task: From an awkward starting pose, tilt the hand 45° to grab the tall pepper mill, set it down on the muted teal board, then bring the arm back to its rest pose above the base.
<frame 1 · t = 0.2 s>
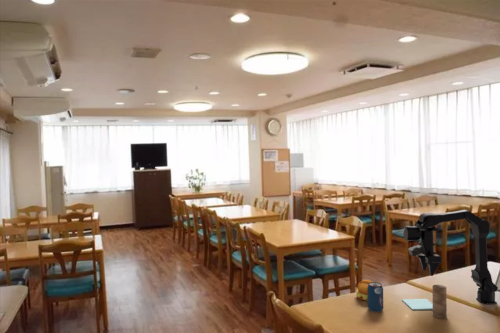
hand: (427, 272, 188), 14 cm above the table, fingers open, 9 cm apart
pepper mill: (439, 316, 173), on the table
board: (419, 304, 186), on the table
cheeseburger: (366, 298, 195), on the table
soda can: (375, 310, 181), on the table
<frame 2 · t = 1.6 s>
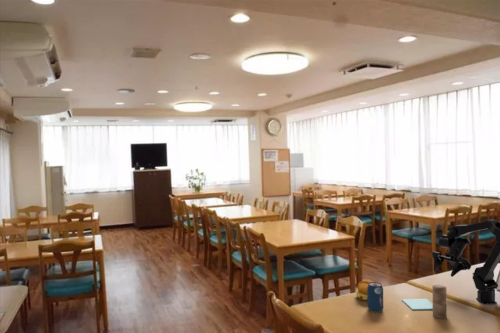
hand: (442, 273, 195), 12 cm above the table, fingers open, 9 cm apart
nothing on the table moved.
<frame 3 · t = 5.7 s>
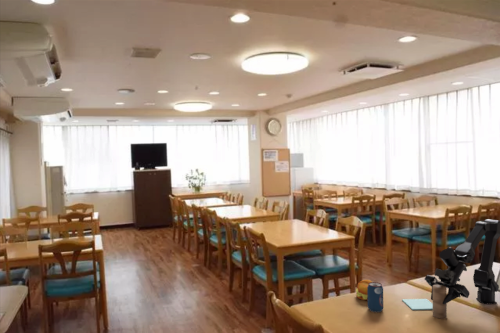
hand: (437, 301, 172), 7 cm above the table, fingers closed on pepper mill, 5 cm apart
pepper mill: (439, 316, 173), on the table, touching gripper
everything else where it was.
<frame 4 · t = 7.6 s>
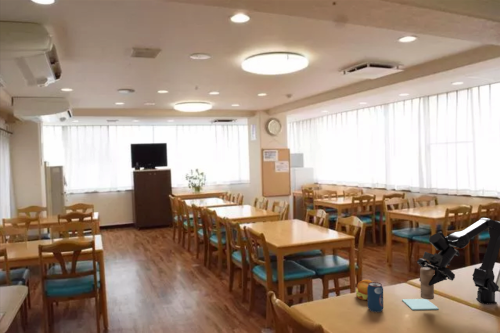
hand: (424, 283, 179), 12 cm above the table, fingers closed on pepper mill, 5 cm apart
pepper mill: (427, 297, 179), point 6 cm above the table, touching gripper
everything else where it was.
when the fingers open (8 cm above the table, at t = 9.5 s): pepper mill stays where it is, resting on board.
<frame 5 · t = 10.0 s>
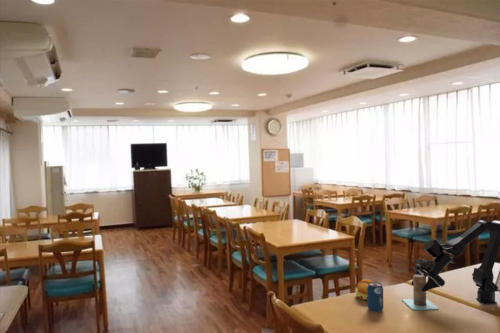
hand: (416, 287, 185), 8 cm above the table, fingers open, 9 cm apart
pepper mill: (419, 303, 186), point 1 cm above the table, touching board
everything else where it was.
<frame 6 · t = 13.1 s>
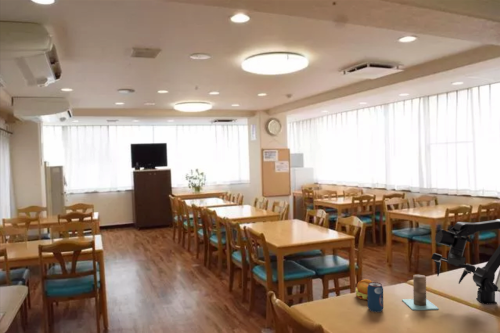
hand: (448, 279, 187), 11 cm above the table, fingers open, 9 cm apart
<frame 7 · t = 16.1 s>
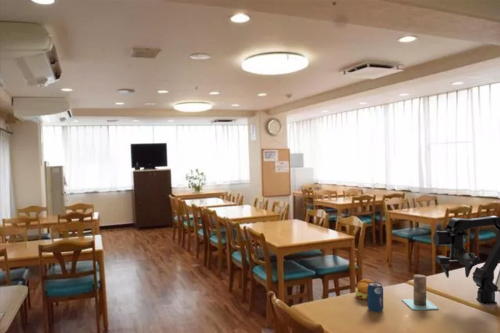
hand: (457, 277, 188), 12 cm above the table, fingers open, 9 cm apart
at the end: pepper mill 0.1 cm off-centre on the board, point 0.6 cm above the board's base; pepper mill tilted 0°; the gripper is holding nothing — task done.
